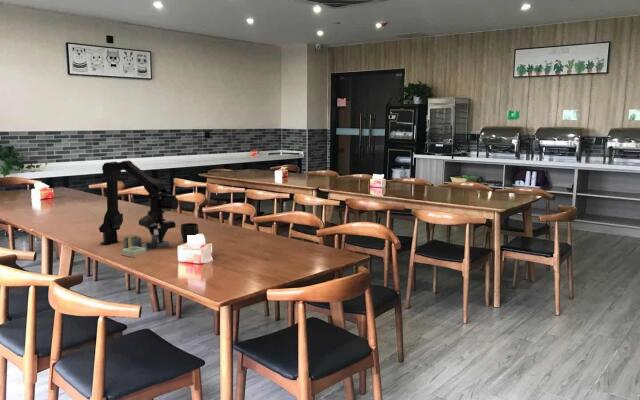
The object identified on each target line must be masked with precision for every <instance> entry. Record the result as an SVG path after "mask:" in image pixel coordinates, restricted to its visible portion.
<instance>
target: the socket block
mask: <svg viewBox="0 0 640 400" xmlns="http://www.w3.org/2000/svg"><path fill="white" fill-rule="evenodd" d="M136 246H137V247H142V248H145V249H146V252H150V251H155V250H156V249H160V248H165V247H169V246H170V241H169V240H164V242H162V243H158V244H156V243H152V240H151V241H150V240H149V241H146V242H145V243H142V237H140V236H137V237H136V238H132V239H131V247H136ZM126 248H130V247H128V240H127V238H126V236H125V237H123V249H126Z"/></svg>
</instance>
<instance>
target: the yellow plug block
mask: <svg viewBox="0 0 640 400" xmlns="http://www.w3.org/2000/svg"><path fill="white" fill-rule="evenodd" d="M125 237H126V238H127V240H128V247H131V239H132V238H136V237H138V235H137V234H128V235H125Z"/></svg>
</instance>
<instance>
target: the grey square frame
mask: <svg viewBox="0 0 640 400" xmlns="http://www.w3.org/2000/svg"><path fill="white" fill-rule="evenodd" d="M146 252H147V251H146V249H145V248H142V247H137V246H136V247H130V248H122V249H121V253H122V254H120V256H121V257H125V258H131V259H135V258H136V257H135V256H137V255H141V254H144V253H146Z"/></svg>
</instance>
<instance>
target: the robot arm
mask: <svg viewBox="0 0 640 400" xmlns="http://www.w3.org/2000/svg"><path fill="white" fill-rule="evenodd" d="M101 169H102V175H103V177H104V178H105V181H106V212H105V214H104V216H103V223H102V224H101V225H100V226H99V228H98V230H99V233H102V239H103V241H101V242H100V244H101V245H107V246H111V245H115V244H119V243H121V242H120V241H118V231H119V230H120V229H121V226H123V225H122V224H123V222H124V217H123V216H124V214H123V213H120V211H119V191H118V190H119V186H118V184H119V183H118V182H119V181H118V180H119V178H120V177H121V174H122V173H121V172H122V171H126V173H127V174H129V175H130V176H131V177H133V178H134V179H135V180H137V181H138V182H139V183H141V185H142V186H143V188H144V190H145V191H146V192H147V193H148V194H147V196H145V200H146V199H147V200H149V210H148V211H147V214H146V215H145V216H143V217H141V218H140V219H139V220H138V225H139V226H141V227H144V228H146V229H147V230H148V231H149V233H150V235H151V234H154V228H156V229H157V230H158V232H159V241H160V242H162V240H163V238H164V237H165V235H166V233H167V232H168V230H169V229H174V228H176V222H175V221H174V220H173V221H172V220H166V218H164V214H165V212H166V211H165V210H172V211H175V210H177V209H178V208H179V203H180V202H179V200H178V198H177V195H176V194H170V193H169V191H168V190H167V189H166V187H165V184H164V182H162V181H161V180H159V179H157V178H154V177H152V176H149V175H148V174H147V173H146V172H145V171H143V170H142V169H140V168H139V167H138V166H137V165H136V164H134V163H133V162H132V160H122V161H108V162H104V163H103V164H102V167H101Z"/></svg>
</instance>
